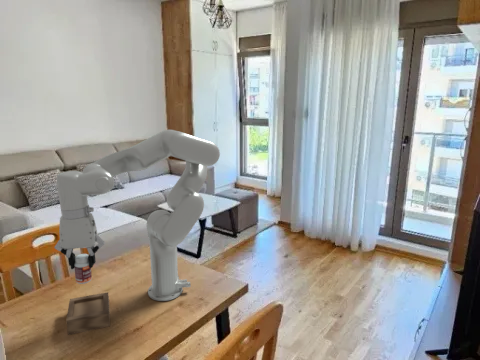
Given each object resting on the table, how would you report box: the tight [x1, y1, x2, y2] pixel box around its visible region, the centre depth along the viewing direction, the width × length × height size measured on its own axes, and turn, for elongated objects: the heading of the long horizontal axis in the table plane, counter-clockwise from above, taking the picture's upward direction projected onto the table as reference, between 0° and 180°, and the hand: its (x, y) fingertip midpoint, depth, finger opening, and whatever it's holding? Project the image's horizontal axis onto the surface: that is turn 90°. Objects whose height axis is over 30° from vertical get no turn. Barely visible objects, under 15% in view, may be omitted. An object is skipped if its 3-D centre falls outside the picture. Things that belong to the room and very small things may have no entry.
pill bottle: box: [74, 253, 92, 285], centre depth 110 cm, size 5×5×8 cm
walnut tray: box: [65, 291, 111, 336], centre depth 113 cm, size 12×12×5 cm
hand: (82, 265), depth 109 cm, fingers closed on pill bottle, 4 cm apart
